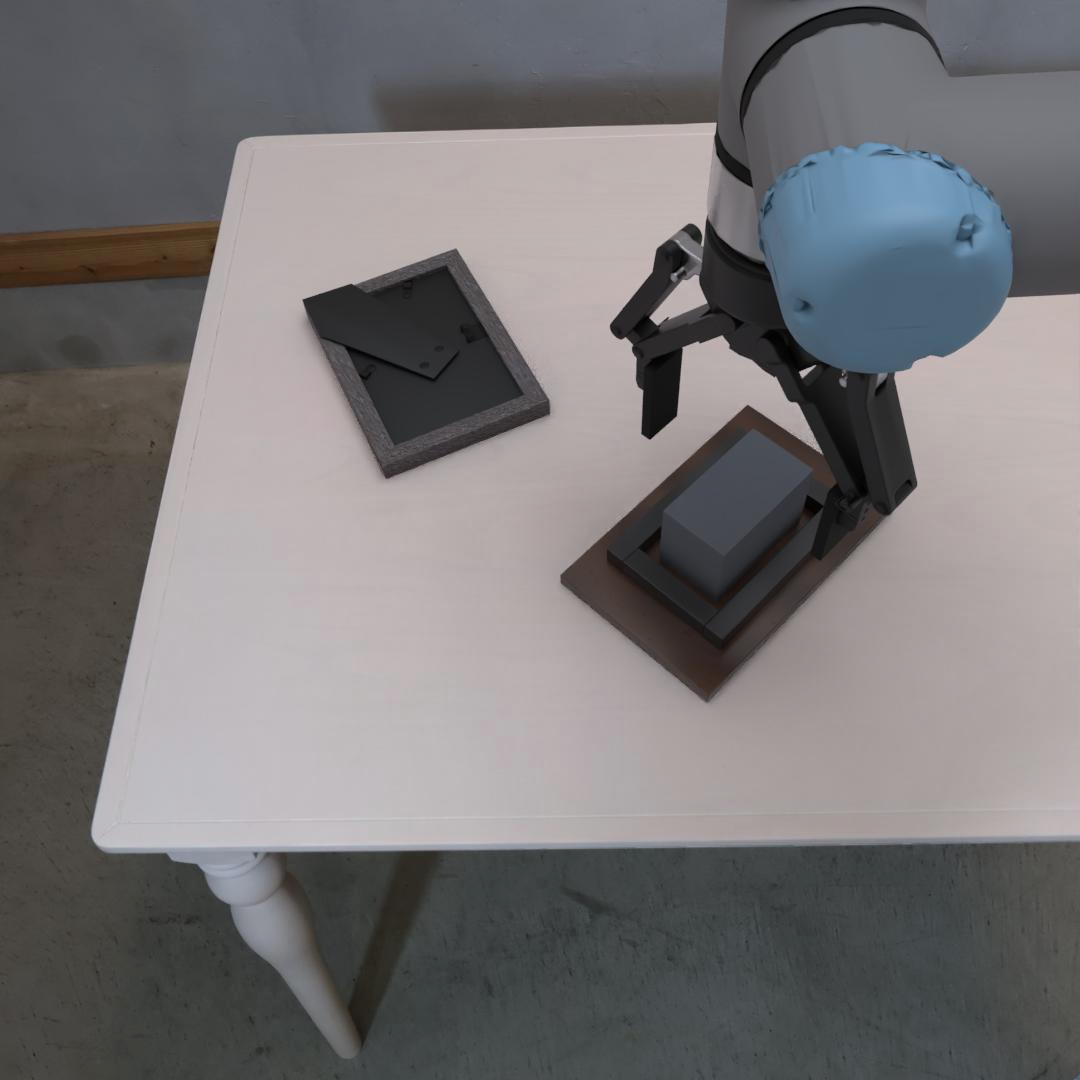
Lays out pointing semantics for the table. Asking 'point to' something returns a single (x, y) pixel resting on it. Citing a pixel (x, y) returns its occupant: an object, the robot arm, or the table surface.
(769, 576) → the back plate
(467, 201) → the table surface
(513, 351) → the picture frame
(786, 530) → the pad block
